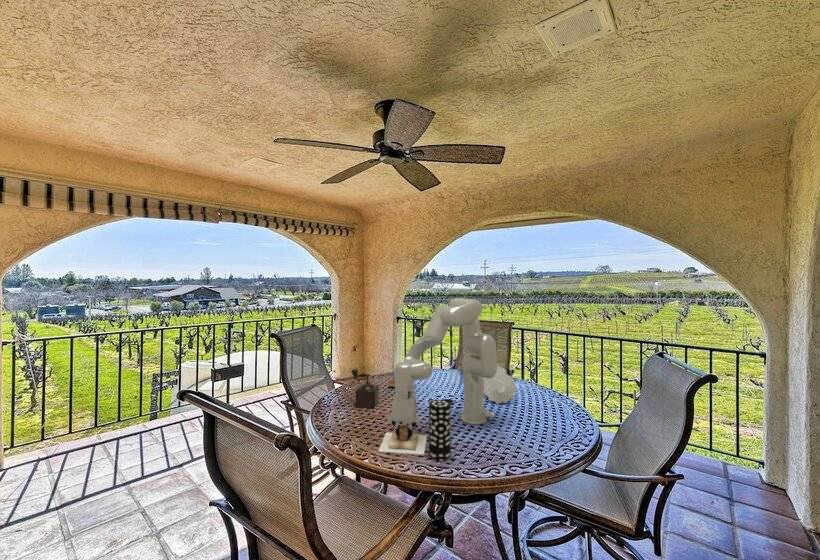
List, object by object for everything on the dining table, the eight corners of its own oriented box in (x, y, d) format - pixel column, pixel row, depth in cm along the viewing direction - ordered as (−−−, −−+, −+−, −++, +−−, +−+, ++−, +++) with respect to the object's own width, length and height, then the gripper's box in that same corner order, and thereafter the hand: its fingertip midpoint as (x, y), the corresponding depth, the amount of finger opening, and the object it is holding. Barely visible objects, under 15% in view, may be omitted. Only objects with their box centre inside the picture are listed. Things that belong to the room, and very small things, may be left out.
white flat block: (427, 435, 146) (427, 434, 146) (423, 455, 130) (423, 454, 130) (386, 433, 149) (386, 432, 149) (378, 452, 133) (378, 451, 133)
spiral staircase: (497, 397, 204) (509, 411, 179) (471, 384, 205) (479, 397, 180) (510, 369, 205) (524, 380, 180) (484, 357, 205) (494, 366, 180)
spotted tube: (448, 449, 135) (448, 399, 135) (452, 460, 127) (452, 407, 126) (428, 449, 135) (428, 399, 134) (429, 461, 126) (430, 407, 126)
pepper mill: (379, 401, 186) (379, 369, 186) (374, 409, 175) (374, 374, 175) (352, 399, 188) (352, 367, 188) (345, 407, 178) (345, 373, 177)
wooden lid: (418, 436, 144) (418, 422, 144) (415, 449, 133) (415, 434, 133) (393, 434, 146) (393, 420, 146) (388, 447, 135) (388, 432, 135)
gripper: (425, 391, 142) (424, 434, 142) (385, 389, 144) (385, 432, 144) (423, 397, 134) (423, 443, 135) (382, 395, 137) (382, 440, 137)
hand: (404, 436), depth 139 cm, fingers closed on wooden lid, 4 cm apart
